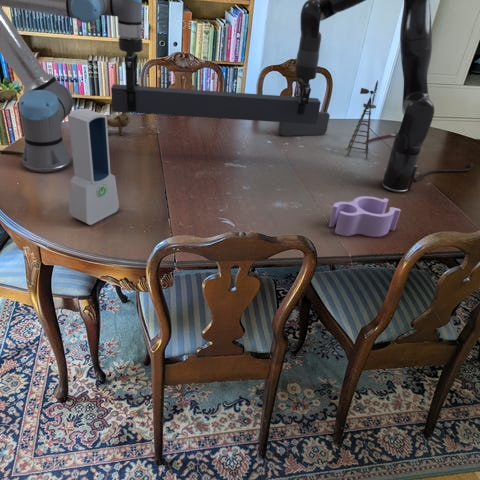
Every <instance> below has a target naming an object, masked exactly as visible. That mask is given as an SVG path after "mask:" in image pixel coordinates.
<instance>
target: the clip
mask: <svg viewBox="0 0 480 480" xmlns="http://www.w3.org/2000/svg"><path fill="white" fill-rule="evenodd" d="M388 203H389V199H388V198H386V197H384V198H379V197H375V196H368V195H363V196H358V197H356V198H354V199H353V200H352V201H337V202H335V203H334V204H333V206H332V210H331V215H330V220H329V223H328V227H330V228H334V226H335V230H334V234H337V235H338V236H339V235H340V236H342V237H343V236H344V237H345V236H346V237H350V236H354V235H363V236H367V237H372V238H374V237H384V236H386V235H388V234H389V231H392V232H393V231H395V229H396V227H397V223H398V220H399V218H400V214H401V209H400V208H397V207H392V206H391V207H390V206H389V209H388V212H386V210H387V208H388V207H387V206H388Z"/></svg>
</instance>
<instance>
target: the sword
mask: <svg viewBox="0 0 480 480" xmlns="http://www.w3.org/2000/svg"><path fill="white" fill-rule="evenodd" d="M396 133H397V132H393V133H390V134H387V135H381V136H378V137H374V138H369V141H368V143H370V142H374V141H378V140H381V139H386V138H390V137H394V136H396Z"/></svg>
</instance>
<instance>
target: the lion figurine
mask: <svg viewBox="0 0 480 480" xmlns="http://www.w3.org/2000/svg"><path fill="white" fill-rule="evenodd" d="M131 120H132V116H131V113H127V112H120V114H118V115H117V116H115V117H109V116H107V126H108V127H110V128H118V129H117V132H118V133H119V135H121V136H124V135H125V134H124V133H123V129H124V128H126V127H128V125H129V124H130V123H131Z"/></svg>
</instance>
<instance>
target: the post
mask: <svg viewBox="0 0 480 480" xmlns="http://www.w3.org/2000/svg"><path fill="white" fill-rule="evenodd" d="M125 90H126V84H118V83H117V84H116V83H113V84H112V85H111V88H110V92H111V93H110V95H111V108H112V109H111V110H112V112H114V113H122V112H127V113H130V114H145V115H159V116H160V115H161V116H177V117H194V118H209V119H222V120H223V119H225V120H240V121H254V122H255V121H258V122H272V123H273V122H274V123H280V122H287V123H303V124H317V120H318V114H319V112H320V110H321V109H320V108H321V102H322V101H320V99H319V98H318V97H317V98H316V97H309V100H308V104H306V105H305V111H304V114H303V115H300V114H298V108H299V97H296V96H291V95H289V96H288V95H276V94H275V95H274V94H261V93H247V92H246V93H245V92H234V91H233V92H231V91H219V90H218V91H217V90H203V89H191V88H189V89H187V88H176V87H172V88H171V87H159V86H146V85H144V86H143V85H139V86H135V95H136V111H128V103H127V92H125ZM303 100H305V98H303Z"/></svg>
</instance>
